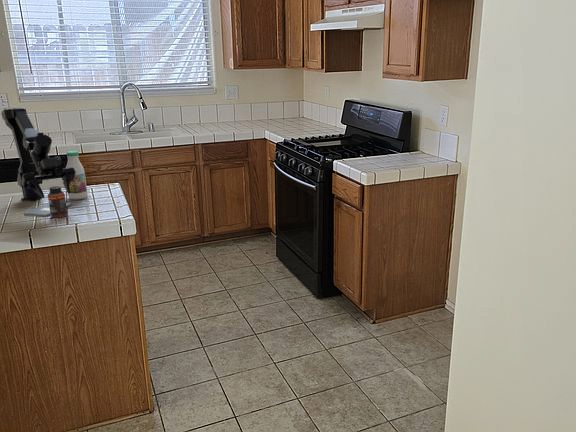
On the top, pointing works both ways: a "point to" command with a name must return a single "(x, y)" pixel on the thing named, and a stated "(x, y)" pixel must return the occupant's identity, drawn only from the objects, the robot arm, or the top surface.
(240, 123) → the top surface
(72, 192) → the milk bottle
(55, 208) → the supplement bottle
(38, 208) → the label panel
